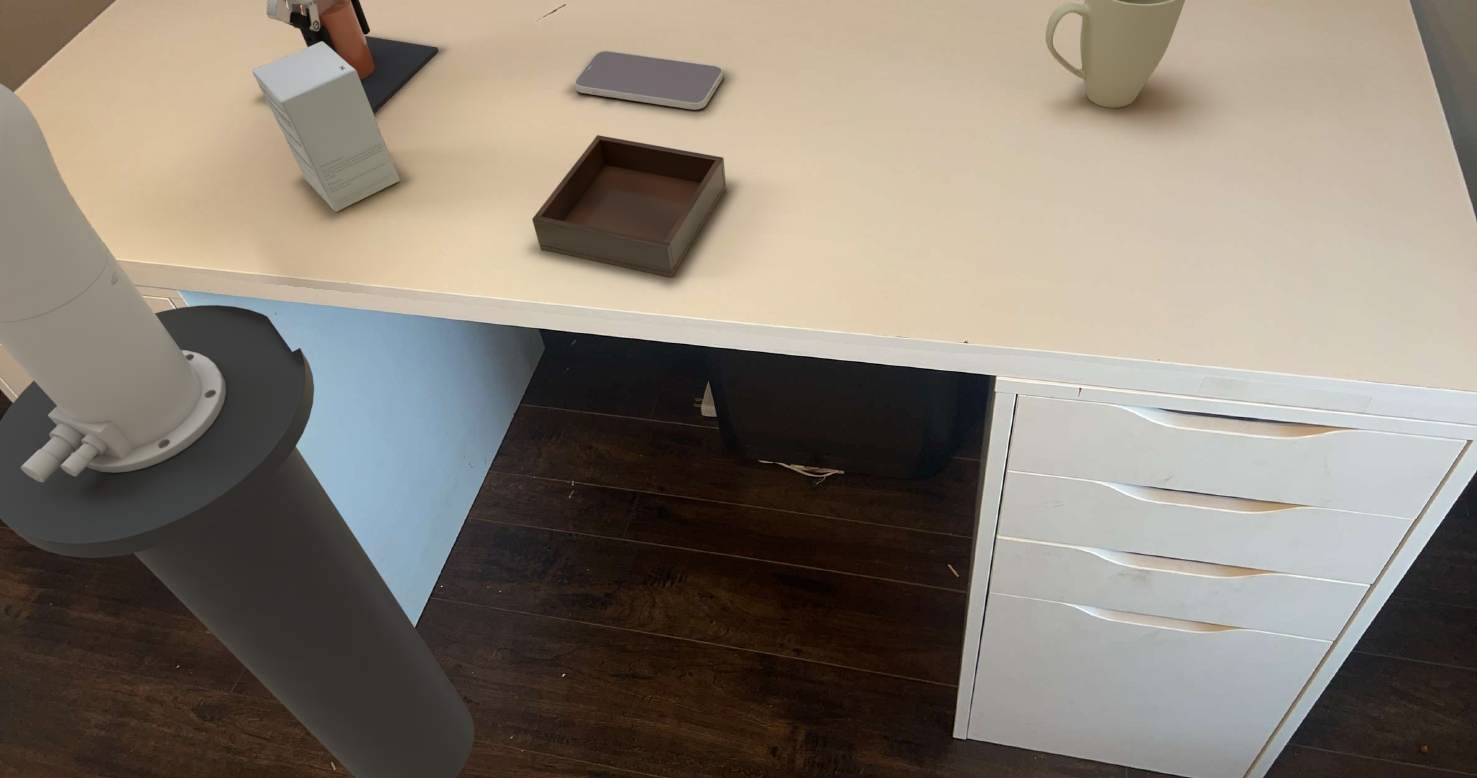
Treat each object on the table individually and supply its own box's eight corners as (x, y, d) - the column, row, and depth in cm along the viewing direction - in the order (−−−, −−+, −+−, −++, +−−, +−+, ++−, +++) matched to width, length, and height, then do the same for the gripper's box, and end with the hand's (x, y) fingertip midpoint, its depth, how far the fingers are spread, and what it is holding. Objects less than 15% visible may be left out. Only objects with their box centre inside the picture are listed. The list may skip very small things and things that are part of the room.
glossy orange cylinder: (357, 86, 110) (331, 18, 104) (319, 79, 112) (291, 12, 106) (384, 61, 113) (359, -6, 107) (347, 55, 115) (320, -11, 109)
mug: (1086, 57, 105) (1110, -54, 96) (1173, 89, 101) (1208, -25, 92) (1028, 104, 101) (1048, -9, 92) (1117, 140, 96) (1148, 24, 87)
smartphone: (701, 105, 103) (571, 85, 106) (702, 112, 103) (572, 92, 107) (725, 66, 107) (599, 49, 111) (726, 74, 108) (600, 56, 112)
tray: (671, 277, 87) (667, 247, 84) (540, 248, 91) (531, 219, 88) (726, 187, 95) (723, 157, 92) (603, 164, 99) (597, 134, 96)
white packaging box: (370, 150, 103) (324, 38, 93) (402, 182, 99) (357, 68, 89) (303, 180, 100) (249, 68, 90) (333, 215, 96) (279, 101, 86)
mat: (369, 118, 107) (367, 114, 106) (265, 98, 111) (263, 94, 110) (438, 50, 115) (437, 47, 115) (339, 35, 119) (338, 31, 119)
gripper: (297, -163, 103) (359, 3, 116) (183, -91, 92) (266, 82, 106) (357, -157, 101) (413, 11, 114) (247, -83, 90) (323, 92, 104)
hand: (341, 44), depth 110 cm, fingers closed on glossy orange cylinder, 5 cm apart
